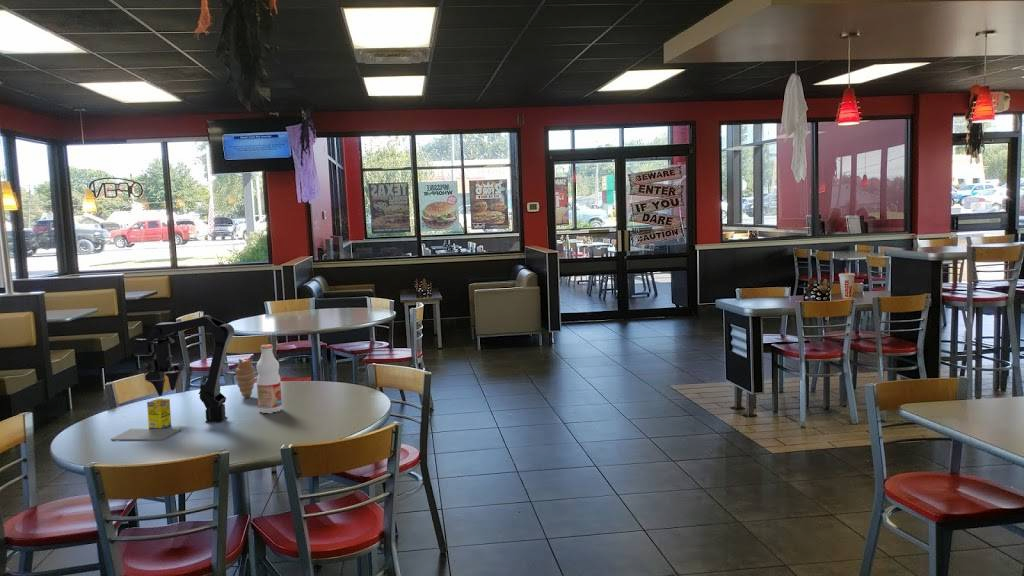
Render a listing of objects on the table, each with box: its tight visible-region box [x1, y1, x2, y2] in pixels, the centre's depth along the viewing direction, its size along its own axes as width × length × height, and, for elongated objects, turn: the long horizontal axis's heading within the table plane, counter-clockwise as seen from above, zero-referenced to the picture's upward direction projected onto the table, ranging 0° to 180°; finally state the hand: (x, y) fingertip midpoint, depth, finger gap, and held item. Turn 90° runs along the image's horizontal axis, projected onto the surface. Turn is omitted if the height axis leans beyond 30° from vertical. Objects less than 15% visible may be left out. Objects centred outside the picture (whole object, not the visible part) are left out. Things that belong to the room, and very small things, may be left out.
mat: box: [110, 428, 182, 442], centre depth 287 cm, size 20×13×1 cm, turn 86°
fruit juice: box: [256, 343, 283, 414], centre depth 317 cm, size 9×9×28 cm
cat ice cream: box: [234, 357, 256, 399], centre depth 342 cm, size 9×8×18 cm
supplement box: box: [146, 398, 172, 429], centre depth 296 cm, size 6×6×11 cm
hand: (166, 393), depth 304 cm, fingers open, 9 cm apart
